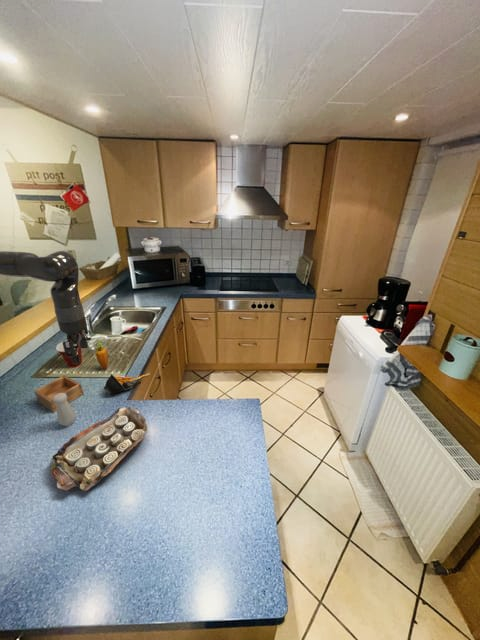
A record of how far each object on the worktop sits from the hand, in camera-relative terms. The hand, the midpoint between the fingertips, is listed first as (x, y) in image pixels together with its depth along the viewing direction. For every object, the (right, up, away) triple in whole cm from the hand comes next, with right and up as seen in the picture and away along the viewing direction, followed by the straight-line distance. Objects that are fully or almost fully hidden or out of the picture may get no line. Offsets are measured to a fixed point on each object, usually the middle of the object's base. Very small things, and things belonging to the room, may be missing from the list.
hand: (80, 355), depth 88 cm
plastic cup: (-28, -10, +40) cm, 50 cm away
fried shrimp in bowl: (+6, -18, +25) cm, 31 cm away
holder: (-20, -21, +18) cm, 34 cm away
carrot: (-11, -12, +36) cm, 40 cm away
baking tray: (+11, -32, -4) cm, 34 cm away
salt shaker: (-8, -26, +6) cm, 28 cm away
